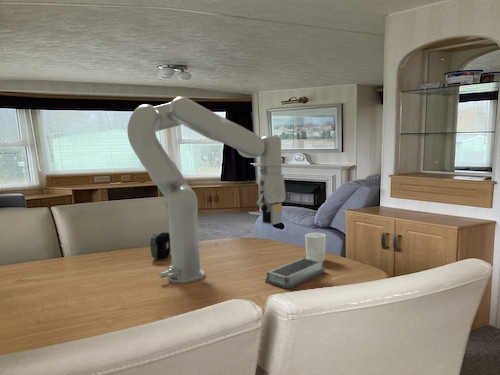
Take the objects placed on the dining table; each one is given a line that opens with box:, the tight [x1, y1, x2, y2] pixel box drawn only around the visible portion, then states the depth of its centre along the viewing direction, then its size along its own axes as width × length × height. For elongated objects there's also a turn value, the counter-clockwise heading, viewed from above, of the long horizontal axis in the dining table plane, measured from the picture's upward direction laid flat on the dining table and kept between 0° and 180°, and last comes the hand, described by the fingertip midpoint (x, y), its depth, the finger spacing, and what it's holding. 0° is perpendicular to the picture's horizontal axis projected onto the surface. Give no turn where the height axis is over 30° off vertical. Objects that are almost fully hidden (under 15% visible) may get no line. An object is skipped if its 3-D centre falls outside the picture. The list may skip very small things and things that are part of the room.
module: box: [261, 203, 283, 226], centre depth 130 cm, size 5×5×7 cm
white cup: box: [304, 232, 327, 263], centre depth 138 cm, size 8×8×10 cm
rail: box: [264, 257, 326, 290], centre depth 122 cm, size 20×10×4 cm, turn 136°
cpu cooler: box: [149, 232, 171, 260], centre depth 148 cm, size 10×6×10 cm, turn 178°
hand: (272, 220), depth 131 cm, fingers closed on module, 5 cm apart
